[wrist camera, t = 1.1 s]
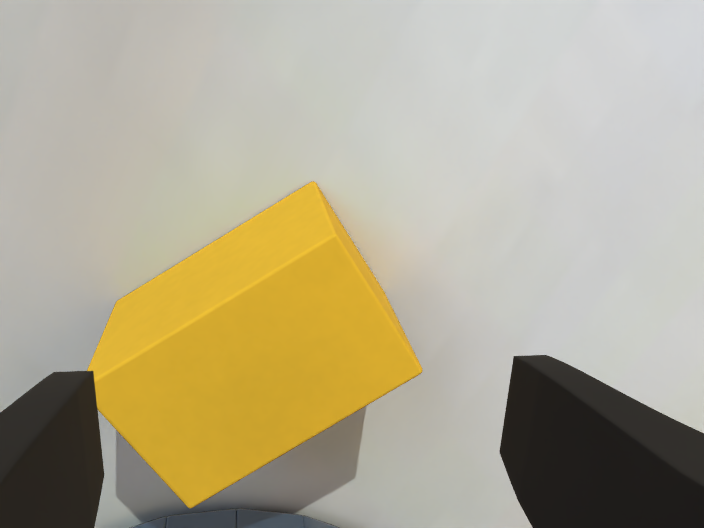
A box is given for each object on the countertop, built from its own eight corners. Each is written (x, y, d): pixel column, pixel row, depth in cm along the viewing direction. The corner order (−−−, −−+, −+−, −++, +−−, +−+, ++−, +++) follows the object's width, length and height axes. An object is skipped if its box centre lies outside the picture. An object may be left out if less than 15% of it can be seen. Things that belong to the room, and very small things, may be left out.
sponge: (385, 293, 21) (424, 373, 17) (200, 403, 22) (189, 511, 17) (313, 179, 20) (335, 232, 15) (114, 301, 20) (77, 390, 15)
